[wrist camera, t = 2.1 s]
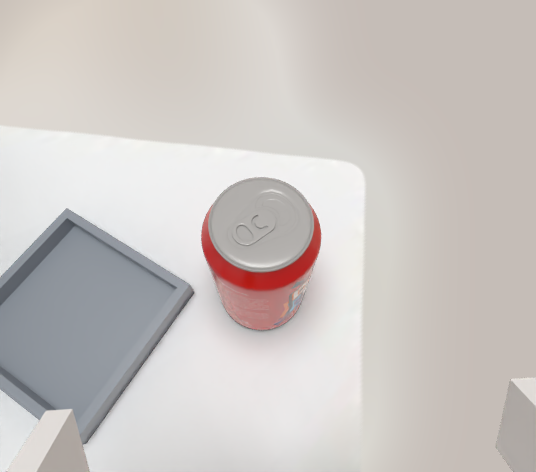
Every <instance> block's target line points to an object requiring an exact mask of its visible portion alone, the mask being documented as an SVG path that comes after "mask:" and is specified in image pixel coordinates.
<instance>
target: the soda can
mask: <svg viewBox="0 0 536 472" xmlns="http://www.w3.org/2000/svg"><path fill="white" fill-rule="evenodd" d="M201 241H202V248H203V252H204V255H205V258H206V261H207V264H208V266H209V269H210V272H211V274H212V277H213V280H214V282H215V285H216V288H217V290H218V293H219V296H220V298H221V301H222V304H223V306H224V308H225V310H226V311H227V313H228V314H229V315H230V316H231V317H232V318H233V319H234V320H235V321H236V322H237V323H239V324H241V325H242V326H244V327H247V328H250V329H254V330H269V329H273V328H276V327H279V326H281V325H283V324H284V323H286V322H287V321H288V320H290V319H291V318H292V317H293V316H294V314H295V313H296V312H297V310H298V308H299V306H300V304H301V302H302V299H303V296H304V293H305V291H306V288H307V285H308V282H309V279H310V277H311V274H312V271H313V268H314V265H315V262H316V260H317V257H318V253H319V250H320V245H321V229H320V224H319V221H318V218H317V216H316V213H315V212H314V210H313V208H312V207H311V205H310V204H309V203H308V202H307V200H306V199H305V197H304V196H303V195H302V194H301V193H300V192H299V191H298V190H297V189H296V188H294V187H293V186H291V185H289V184H288V183H286V182H283V181H281V180H278V179H274V178H267V177H255V178H249V179H245V180H242V181H239V182H237V183H235V184H233V185H231V186H230V187H228V188H227V189H226V190H224V191H223V192H222V193H221V194H220V195H219V197H218V198H217V199H216V201H215V202H214V204H213V205H212V206H211V208H210V209H209V211H208V213H207V214H206V217H205V219H204V222H203V226H202V234H201Z"/></svg>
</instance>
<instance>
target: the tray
mask: <svg viewBox="0 0 536 472" xmlns="http://www.w3.org/2000/svg"><path fill="white" fill-rule="evenodd" d="M193 294H194V291H193V289H192V288H191V286H190V284H188V283H186V282H185V281H183V280H182V279H180V278H178V277H177V276H175V275H173V274H172V273H170V272H169V271H167V270H165V269H164V268H162V267H161V266H159V265H157V264H156V263H154V262H153V261H151V260H149V259H148V258H146V257H145V256H143V255H141V254H140V253H138V252H137V251H135V250H133V249H132V248H130V247H128V246H127V245H125V244H124V243H122V242H120V241H119V240H117V239H116V238H114V237H112V236H111V235H109V234H108V233H106V232H104V231H103V230H101V229H100V228H98V227H96V226H95V225H93V224H92V223H90V222H88V221H87V220H85V219H84V218H82V217H80V216H79V215H77V214H75V213H74V212H72V211H71V210H69V209H67V208H66V209H65V211H64V212H63V213H62V214H61V215H60V216H59V217H58V218H57V219H56V220H55V221H54V222H53V223H52V224H51V225H50V226H49V227H48V228H47V229H46V230H45V231H44V232H43V233H42V234H41V235H40V237H39V238H38V239H37V240H36V241H35V242H34V243H33V244H32V245H31V246H30V247H29V248H28V249H27V250H26V251H25V252H24V253H23V254H22V255H21V256H20V257H19V258H18V259H17V260H16V261H15V262H14V264H13V265H12V266H11V267H10V268H9V269H8V270H7V271H6V272H5V273H4V274H3V275H2V276H1V277H0V389H1V390H2V391H3V392H5V393H6V394H7V395H8V396H10V397H11V398H12V399H13V400H15V401H16V402H17V403H18V404H20V405H21V406H22V407H23V408H25V409H26V410H27V411H28V412H30V413H31V414H32V415H34V416H35V417H36V418H37V419H39V420H40V419H41V417H42V416H43V414H44V413H45V411H49V410H64V409H73V413H74V416H75V420H76V424H77V427H78V431H79V435H80V438H81V442H82V444H86V443H87V441H88V440H89V439H90V437H91V436H92V434H93V433H94V432H95V430H96V429H97V427H98V426H99V425H100V423H101V422H102V420H103V419H104V418H105V416H106V415H107V413H108V412H109V411H110V409H111V408H112V406H113V405H114V404H115V402H116V401H117V400H118V398H119V397H120V395H121V394H122V393H123V391H124V390H125V388H126V387H127V386H128V384H129V383H130V381H131V380H132V379H133V377H134V376H135V374H136V373H137V372H138V370H139V369H140V367H141V366H142V365H143V363H144V362H145V360H146V359H147V358H148V356H149V355H150V353H151V352H152V351H153V349H154V348H155V347H156V345H157V344H158V342H159V341H160V340H161V338H162V337H163V335H164V334H165V333H166V331H167V330H168V328H169V327H170V326H171V324H172V323H173V321H174V320H175V319H176V317H177V316H178V314H179V313H180V312H181V310H182V309H183V307H184V306H185V305H186V303H187V302H188V300H189V299H190V298H191V296H192V295H193Z"/></svg>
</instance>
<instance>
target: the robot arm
mask: <svg viewBox="0 0 536 472" xmlns="http://www.w3.org/2000/svg"><path fill="white" fill-rule="evenodd" d="M496 449H497V450H498V452H499V453H500V454H501V455H502V457H503V459H504V460H505V461H506V463H507V464H508V466H509V467H510V468H511V470H512V471H513V472H536V378H534V377H533V378H519V379H510V382H509V387H508V392H507V396H506V401H505V405H504V410H503V414H502V419H501V424H500V428H499V433H498V438H497V442H496ZM6 472H90V471H89V467H88V464H87V460H86V456H85V453H84V449H83V445H82V442H81V438H80V435H79V431H78V427H77V424H76V420H75V416H74V413H73V409H64V410H49V411H45V413H44V414H43V416H42V417H41V419H40V420H39V422H38V424H37V425H36V427H35V428H34V430H33V431H32V433H31V434H30V436H29V437H28V439H27V440H26V442H25V443H24V445H23V446H22V448H21V449H20V451H19V452H18V454H17V456H16V457H15V459H14V460H13V462H12V463H11V465H10V466H9V468H8V469H7V471H6Z"/></svg>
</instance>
